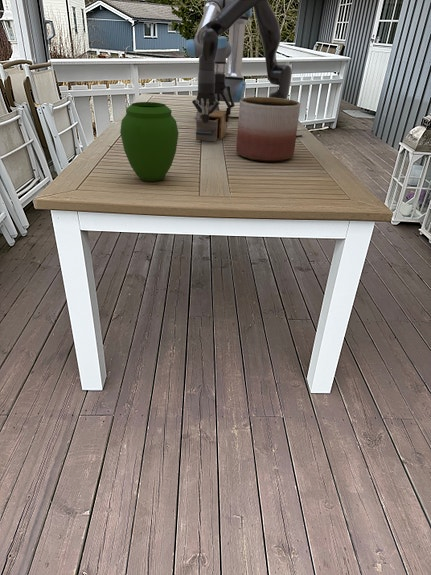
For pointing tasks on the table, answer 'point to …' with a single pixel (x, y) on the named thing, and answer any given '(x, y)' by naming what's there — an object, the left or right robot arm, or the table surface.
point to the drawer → (207, 129)
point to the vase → (149, 139)
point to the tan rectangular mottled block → (223, 122)
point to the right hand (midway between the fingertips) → (205, 122)
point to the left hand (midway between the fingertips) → (215, 120)
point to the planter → (267, 128)
